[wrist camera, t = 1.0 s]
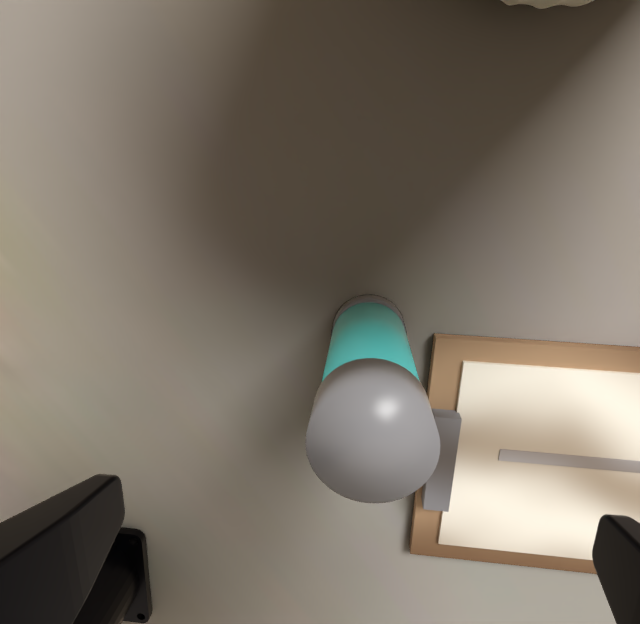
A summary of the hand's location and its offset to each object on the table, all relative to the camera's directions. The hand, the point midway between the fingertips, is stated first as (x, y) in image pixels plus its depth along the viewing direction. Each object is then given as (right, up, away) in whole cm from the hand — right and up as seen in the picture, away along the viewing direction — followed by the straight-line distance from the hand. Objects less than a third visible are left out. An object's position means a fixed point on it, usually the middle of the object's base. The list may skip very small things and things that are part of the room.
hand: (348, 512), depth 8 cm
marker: (+2, +3, +12) cm, 13 cm away
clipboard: (+11, -3, +13) cm, 18 cm away
